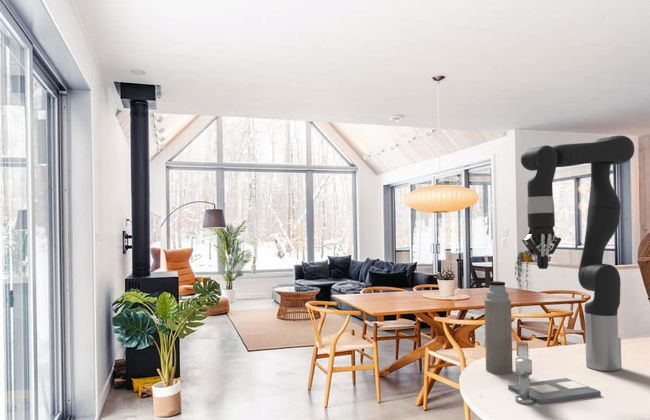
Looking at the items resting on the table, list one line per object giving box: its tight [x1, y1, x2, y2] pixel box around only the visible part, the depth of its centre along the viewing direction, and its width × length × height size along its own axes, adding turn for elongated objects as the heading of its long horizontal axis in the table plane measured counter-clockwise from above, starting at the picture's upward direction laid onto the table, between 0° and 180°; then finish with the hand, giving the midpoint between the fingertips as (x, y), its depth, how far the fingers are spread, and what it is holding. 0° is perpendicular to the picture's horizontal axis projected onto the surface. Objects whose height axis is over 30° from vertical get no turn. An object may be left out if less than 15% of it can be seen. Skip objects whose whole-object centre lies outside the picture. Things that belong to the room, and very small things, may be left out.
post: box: [514, 374, 535, 405], centre depth 126 cm, size 4×4×7 cm
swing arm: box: [514, 341, 533, 376], centre depth 134 cm, size 22×4×4 cm, turn 159°
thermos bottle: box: [484, 280, 514, 375], centre depth 153 cm, size 8×8×28 cm
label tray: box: [507, 377, 602, 405], centre depth 132 cm, size 20×12×2 cm, turn 107°
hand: (542, 268), depth 147 cm, fingers closed
